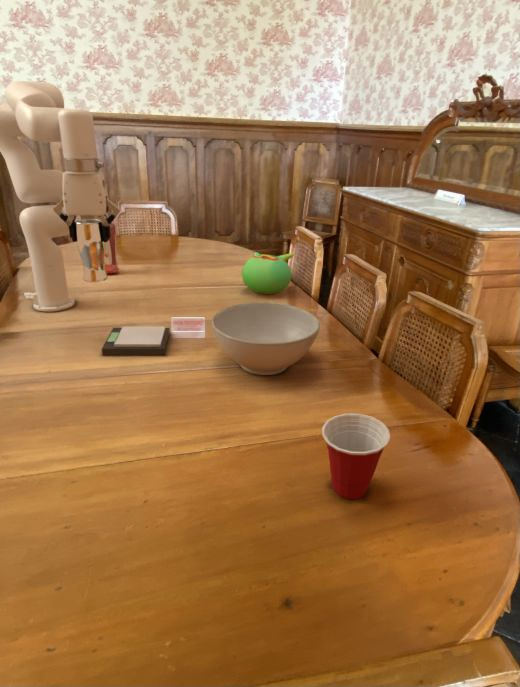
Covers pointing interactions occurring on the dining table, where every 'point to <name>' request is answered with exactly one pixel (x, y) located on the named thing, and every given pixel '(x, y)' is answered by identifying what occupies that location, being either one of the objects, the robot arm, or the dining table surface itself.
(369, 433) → the plastic cup
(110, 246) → the liquor
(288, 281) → the green round pot
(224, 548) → the dining table surface
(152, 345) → the scale
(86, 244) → the beer glass
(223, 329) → the decorative bowl
